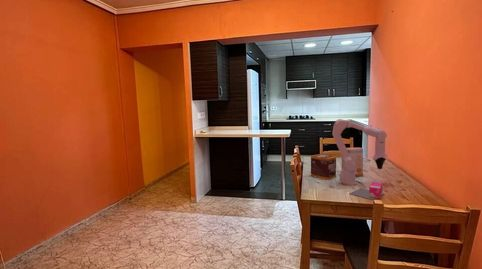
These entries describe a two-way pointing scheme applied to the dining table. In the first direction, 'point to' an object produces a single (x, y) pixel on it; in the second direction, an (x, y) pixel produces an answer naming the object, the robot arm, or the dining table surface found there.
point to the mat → (363, 194)
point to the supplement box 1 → (323, 166)
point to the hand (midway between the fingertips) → (379, 168)
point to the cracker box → (356, 160)
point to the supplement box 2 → (375, 190)
